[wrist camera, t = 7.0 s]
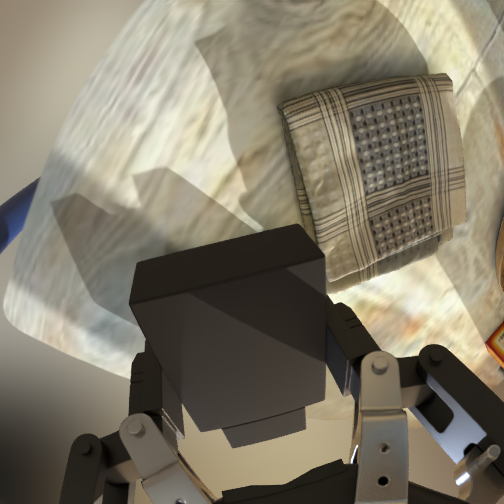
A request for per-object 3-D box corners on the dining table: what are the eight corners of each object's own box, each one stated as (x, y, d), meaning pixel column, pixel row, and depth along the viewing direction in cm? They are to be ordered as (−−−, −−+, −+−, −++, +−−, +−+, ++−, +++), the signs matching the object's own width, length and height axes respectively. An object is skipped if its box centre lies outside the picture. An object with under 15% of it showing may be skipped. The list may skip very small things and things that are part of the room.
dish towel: (268, 100, 21) (281, 101, 18) (439, 71, 22) (462, 73, 19) (316, 293, 30) (329, 313, 27) (448, 234, 31) (466, 246, 28)
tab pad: (207, 415, 16) (214, 452, 14) (136, 261, 11) (127, 303, 8) (309, 389, 16) (324, 423, 14) (298, 222, 11) (326, 254, 9)
